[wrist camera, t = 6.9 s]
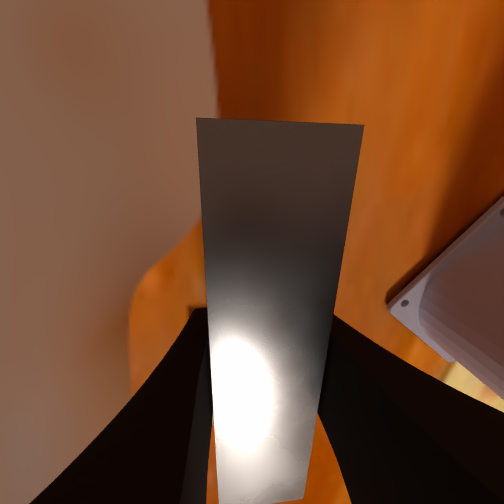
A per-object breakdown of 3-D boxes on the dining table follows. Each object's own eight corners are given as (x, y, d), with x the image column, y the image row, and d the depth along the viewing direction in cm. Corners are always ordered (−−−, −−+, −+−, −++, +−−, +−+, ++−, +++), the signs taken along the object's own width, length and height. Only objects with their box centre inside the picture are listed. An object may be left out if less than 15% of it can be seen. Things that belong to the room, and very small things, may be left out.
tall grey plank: (208, 143, 8) (196, 117, 4) (288, 145, 9) (363, 124, 4) (219, 385, 13) (219, 512, 8) (273, 379, 13) (303, 498, 8)
